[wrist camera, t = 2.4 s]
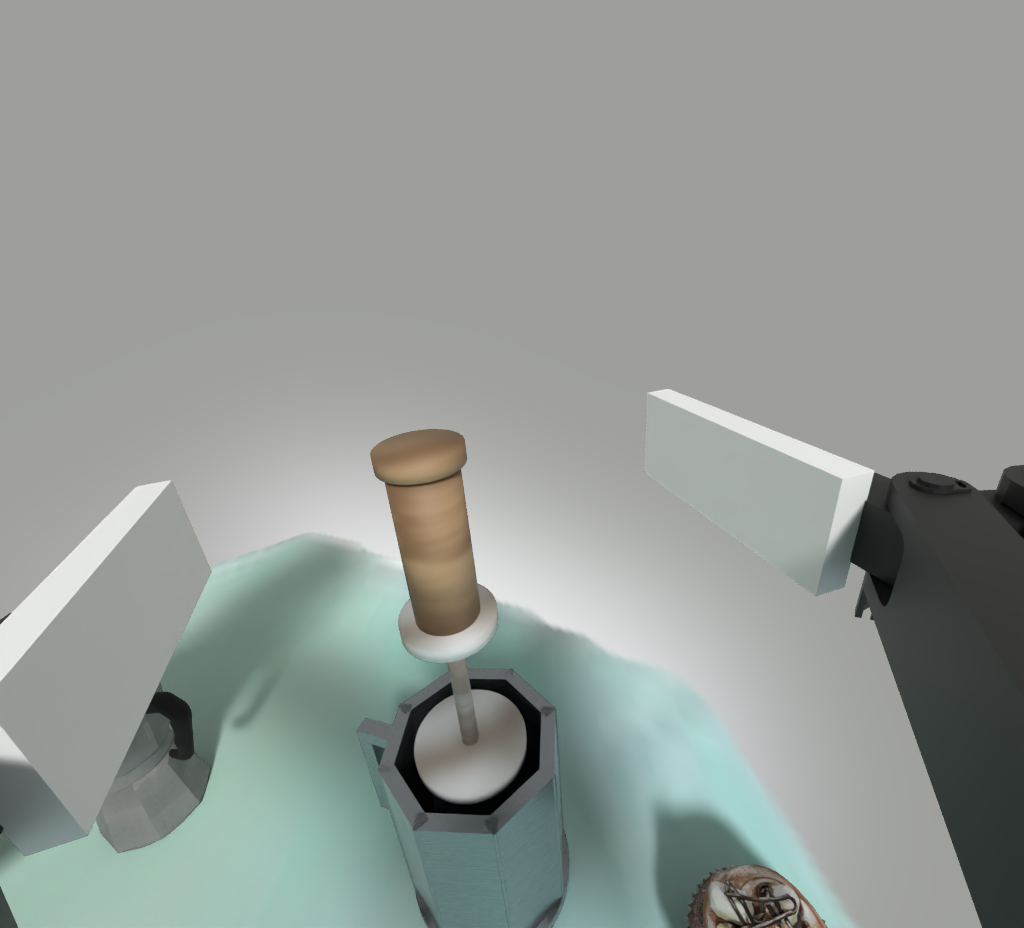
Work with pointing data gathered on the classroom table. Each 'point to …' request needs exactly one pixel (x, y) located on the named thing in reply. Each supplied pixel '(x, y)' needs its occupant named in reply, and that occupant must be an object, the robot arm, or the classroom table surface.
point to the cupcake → (750, 901)
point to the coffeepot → (155, 778)
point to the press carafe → (477, 818)
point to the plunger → (448, 618)
